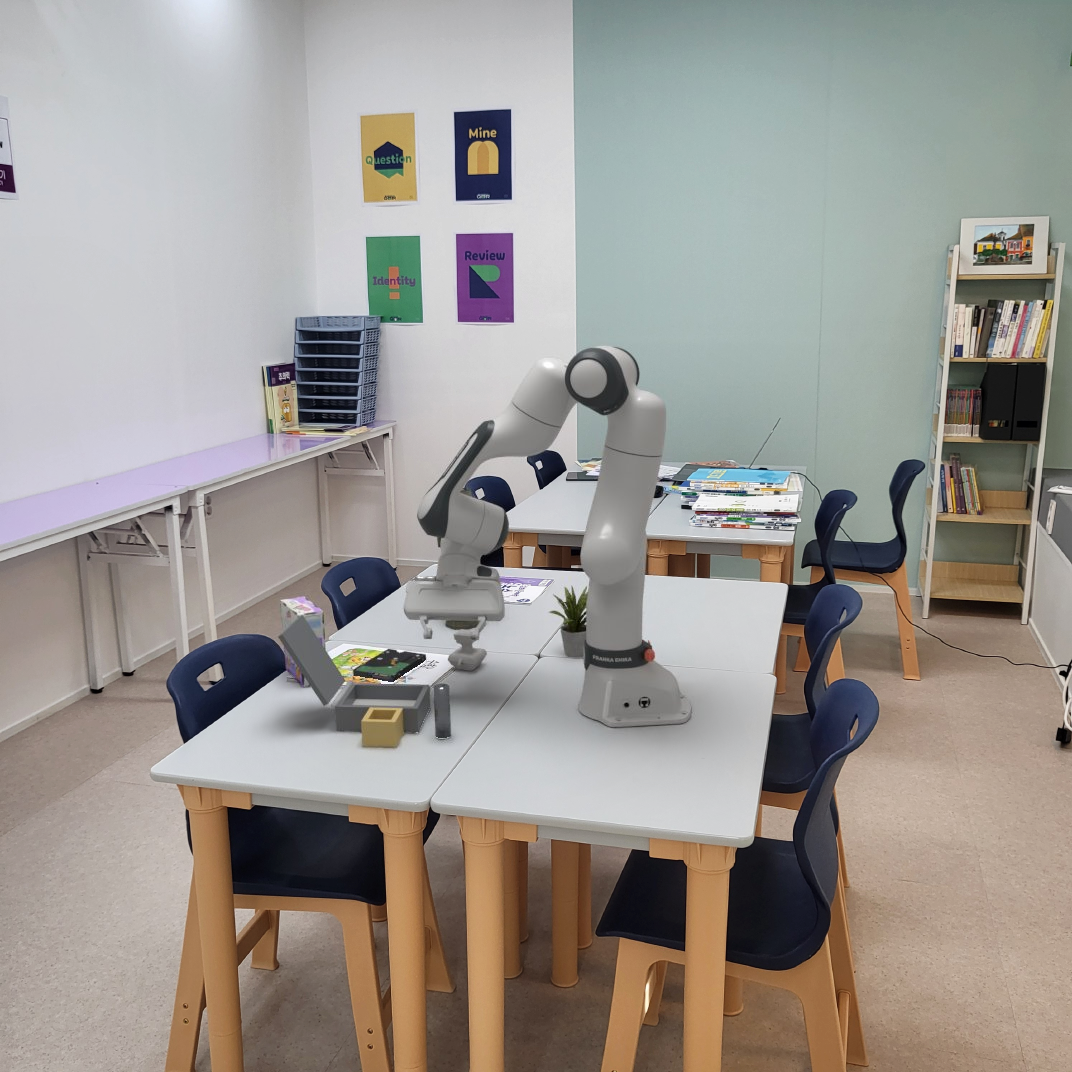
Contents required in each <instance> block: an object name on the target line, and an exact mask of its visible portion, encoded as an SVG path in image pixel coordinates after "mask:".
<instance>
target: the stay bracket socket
mask: <svg viewBox="0 0 1072 1072" xmlns="http://www.w3.org/2000/svg"><path fill="white" fill-rule="evenodd" d="M361 729H362V731H361V741H362V742H361V743H362V744H361V745H362V747H369V748H371V747H375V748H376V747H379V748H397V747H398V746H399V743H400V741H401V739H402V737H403V736H402V735H404V734H405V733H404V722H403V708H373V707H370V708H369V710H368V711H367V713H366V714H365V716H364V717H363V719H362V721H361ZM403 733H404V734H403Z"/></svg>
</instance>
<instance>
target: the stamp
mask: <svg viewBox="0 0 1072 1072" xmlns="http://www.w3.org/2000/svg"><path fill="white" fill-rule="evenodd" d="M453 637H454V638H453V639H454V641H455V642H456V644H459V645H461V646H459V648H457V649H456V650H454V651H453V652H451V653H450V654H449V655H448V657H447V661H448V663H449V664H450V665H451V666H452V667H455V668H454V669H457V670H458V669H459V670H463V671H464V670H465V671H471V672H472V671H473V670H475V669H477V667H479V666H480V665H481V664H482V663H483V661H484V660H485V659H486V657H487V655H488V653H487V650H486V649H484V648H480V647H473V644H474V643H475V642H476V641H477V640H471V629H467V630H464V629H460V630H456V632H455V633H453Z"/></svg>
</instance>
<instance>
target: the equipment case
mask: <svg viewBox="0 0 1072 1072" xmlns="http://www.w3.org/2000/svg"><path fill="white" fill-rule="evenodd" d="M370 707H373V708H403V722H404V732H419V733H420V731H421V729H422V727H421V726H423V725H422V724H424V722H425V720H426V718H427V716H428V714H429V712H430V710H431V708H430V707H431V687H430V684H419V683H418V684H412V683H411V684H407V683H396V684H381V683H375V682H370V683H366V682H365V683H364V682H354V681H353V680H351V679H349V680H347V682H346V683H345V685H344V686H343V688H342V689H341V690H340V691H339V693H338V694H337V696H336V697H335V698H334V699H333V701H332V703H330V709H332V710H334V712H335V727H336V728H335V729H336V731H337V732H362V729H361V721H362V719H363V717H364V716H365V714H366V713H367V711H368V710H369V708H370ZM429 709H430V710H429ZM428 711H429V712H428ZM427 713H428V714H427ZM426 715H427V716H426ZM425 717H426V718H425ZM424 719H425V720H424ZM423 721H424V722H423ZM420 728H421V729H420ZM419 730H420V731H419Z"/></svg>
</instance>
